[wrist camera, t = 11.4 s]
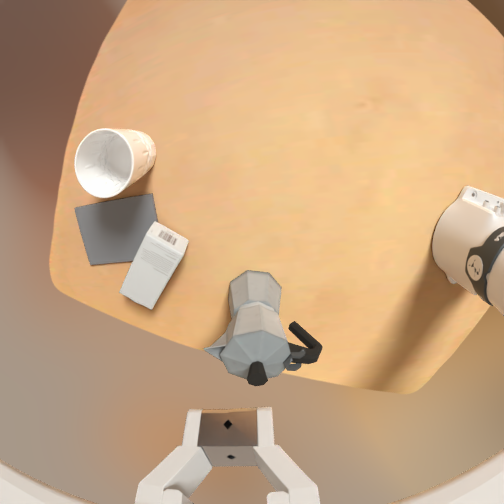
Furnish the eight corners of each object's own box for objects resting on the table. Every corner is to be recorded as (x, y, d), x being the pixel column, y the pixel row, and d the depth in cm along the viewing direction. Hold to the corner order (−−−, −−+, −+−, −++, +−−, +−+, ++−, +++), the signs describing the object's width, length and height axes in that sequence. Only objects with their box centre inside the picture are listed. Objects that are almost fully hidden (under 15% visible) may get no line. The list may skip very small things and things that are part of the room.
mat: (152, 193, 39) (151, 194, 39) (165, 256, 43) (164, 258, 43) (75, 207, 39) (74, 208, 39) (91, 263, 44) (90, 264, 43)
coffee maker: (213, 311, 47) (199, 397, 31) (216, 264, 44) (199, 346, 27) (300, 319, 48) (320, 404, 32) (312, 275, 45) (342, 356, 28)
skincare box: (155, 219, 40) (126, 276, 45) (145, 233, 36) (116, 292, 41) (191, 240, 41) (158, 294, 46) (185, 256, 38) (151, 311, 42)
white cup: (152, 187, 39) (125, 206, 30) (105, 173, 37) (69, 188, 28) (167, 134, 36) (141, 137, 27) (118, 121, 34) (82, 123, 25)
